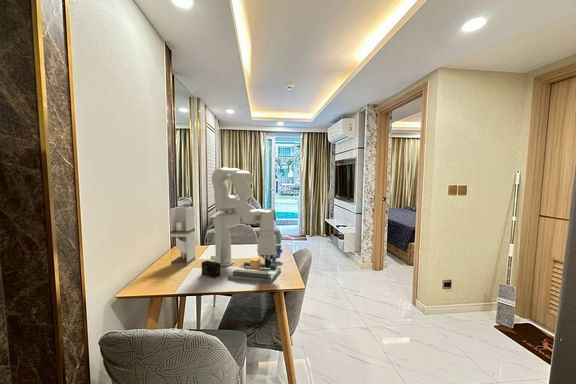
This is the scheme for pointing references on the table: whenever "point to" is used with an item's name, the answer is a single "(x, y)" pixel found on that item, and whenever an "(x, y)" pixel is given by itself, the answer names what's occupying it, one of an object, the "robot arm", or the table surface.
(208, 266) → the digital camera
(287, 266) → the table surface
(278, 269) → the panel
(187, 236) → the display case
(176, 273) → the table surface
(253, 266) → the toggle
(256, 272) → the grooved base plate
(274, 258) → the grapes
